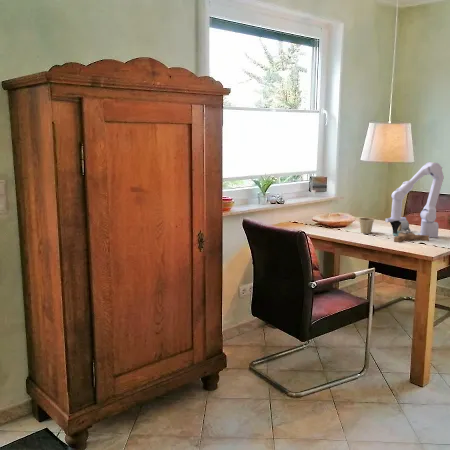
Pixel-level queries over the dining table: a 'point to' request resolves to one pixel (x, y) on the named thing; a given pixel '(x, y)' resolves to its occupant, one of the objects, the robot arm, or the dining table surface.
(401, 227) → the ceramic mug
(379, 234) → the dining table surface
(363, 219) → the flower pot
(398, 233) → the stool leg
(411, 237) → the brown irregular flat piece
